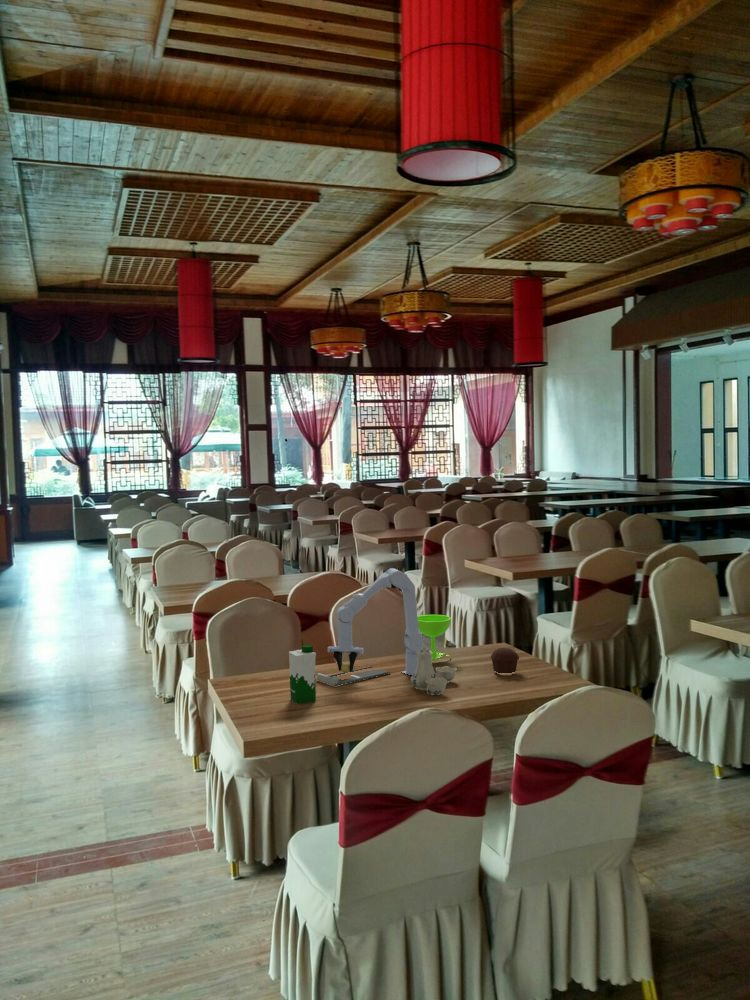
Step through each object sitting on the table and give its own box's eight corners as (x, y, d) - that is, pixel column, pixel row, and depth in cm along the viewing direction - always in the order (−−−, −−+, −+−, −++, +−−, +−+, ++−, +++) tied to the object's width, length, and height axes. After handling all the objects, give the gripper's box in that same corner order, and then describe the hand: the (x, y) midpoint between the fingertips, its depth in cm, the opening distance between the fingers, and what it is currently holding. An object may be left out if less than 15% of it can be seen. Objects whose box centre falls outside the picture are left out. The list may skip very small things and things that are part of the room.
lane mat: (390, 674, 332) (389, 666, 331) (335, 687, 314) (334, 679, 314) (371, 668, 341) (371, 661, 341) (317, 681, 323) (316, 673, 323)
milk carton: (319, 701, 295) (318, 647, 294) (296, 705, 291) (294, 650, 290) (309, 695, 303) (308, 642, 302) (287, 699, 299) (285, 645, 298)
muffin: (484, 673, 330) (484, 648, 330) (502, 668, 338) (501, 644, 337) (508, 678, 322) (507, 653, 321) (525, 673, 329) (525, 648, 329)
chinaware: (448, 703, 296) (452, 659, 294) (403, 697, 299) (407, 652, 298) (456, 682, 323) (460, 641, 322) (415, 677, 326) (419, 636, 325)
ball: (353, 672, 325) (352, 662, 325) (347, 674, 322) (346, 664, 322) (345, 670, 327) (344, 661, 327) (339, 673, 324) (338, 663, 324)
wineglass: (409, 656, 360) (409, 616, 360) (443, 653, 365) (442, 613, 364) (422, 665, 345) (422, 623, 344) (457, 661, 350) (456, 620, 349)
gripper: (365, 635, 326) (366, 668, 327) (331, 633, 330) (331, 667, 330) (360, 639, 319) (361, 673, 320) (325, 637, 323) (326, 671, 324)
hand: (345, 670), depth 325 cm, fingers closed on ball, 4 cm apart
